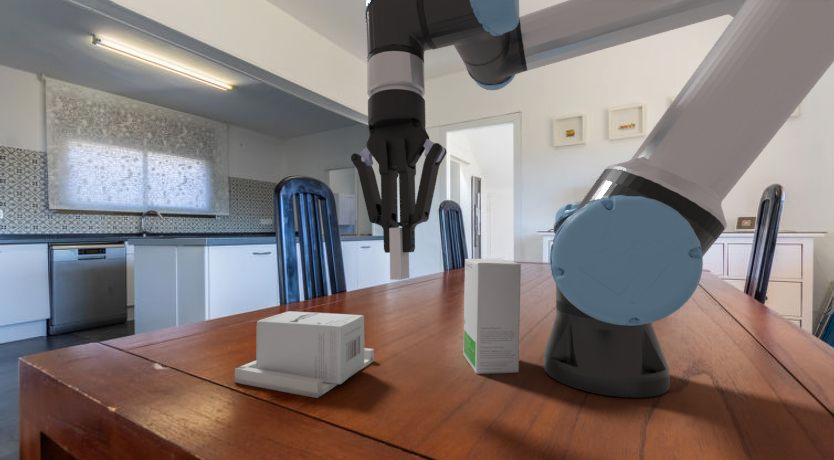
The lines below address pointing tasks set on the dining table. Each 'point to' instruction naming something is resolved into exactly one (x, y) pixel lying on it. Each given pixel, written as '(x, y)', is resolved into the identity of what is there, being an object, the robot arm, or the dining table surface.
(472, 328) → the skincare box
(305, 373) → the supplement box
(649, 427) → the dining table surface
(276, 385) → the grey tray
